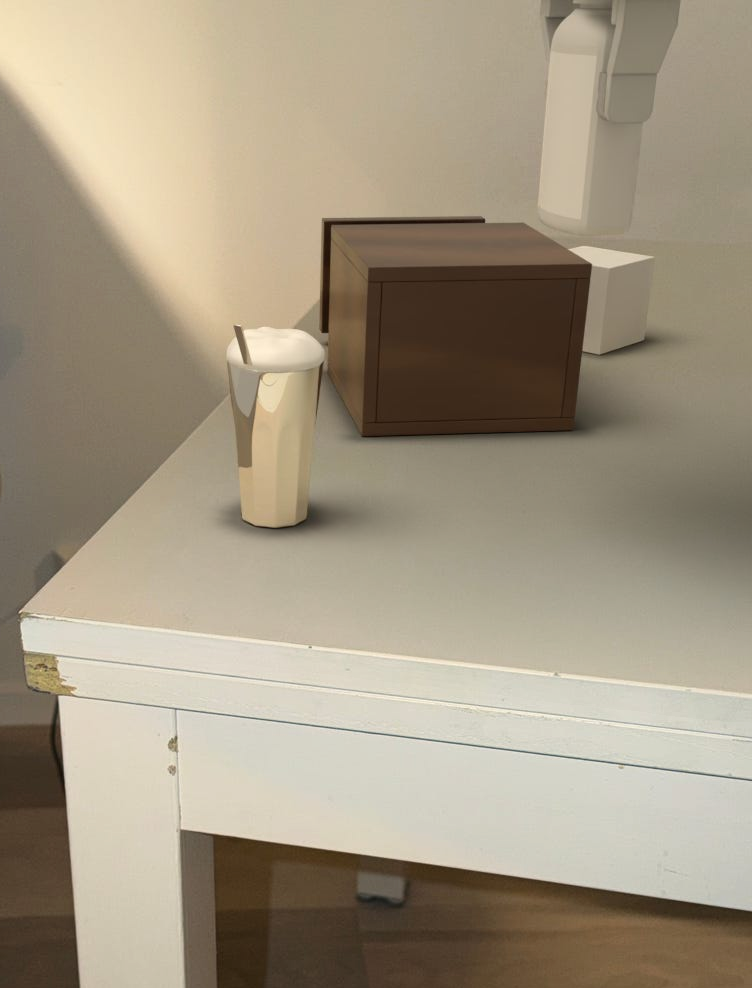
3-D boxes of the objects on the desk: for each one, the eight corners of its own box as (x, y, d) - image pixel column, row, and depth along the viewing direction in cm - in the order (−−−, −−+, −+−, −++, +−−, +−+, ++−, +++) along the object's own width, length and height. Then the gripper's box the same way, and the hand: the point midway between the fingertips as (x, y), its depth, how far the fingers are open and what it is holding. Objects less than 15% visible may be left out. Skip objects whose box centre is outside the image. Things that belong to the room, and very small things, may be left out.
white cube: (599, 355, 92) (609, 268, 89) (528, 340, 96) (536, 256, 93) (644, 340, 96) (655, 256, 93) (574, 326, 100) (583, 245, 97)
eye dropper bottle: (520, 234, 55) (545, -93, 49) (541, 213, 60) (566, -88, 54) (626, 240, 54) (664, -95, 48) (640, 217, 58) (675, -91, 53)
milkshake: (199, 525, 63) (195, 318, 59) (261, 493, 67) (262, 296, 63) (277, 546, 61) (279, 332, 56) (337, 511, 65) (343, 309, 60)
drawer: (309, 313, 99) (311, 206, 95) (457, 310, 100) (464, 204, 97) (346, 376, 83) (350, 251, 80) (520, 372, 85) (532, 248, 81)
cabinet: (327, 373, 88) (331, 224, 83) (510, 368, 89) (524, 222, 84) (361, 436, 75) (368, 267, 71) (573, 430, 77) (592, 263, 72)
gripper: (479, -250, 57) (460, 93, 63) (650, -349, 39) (600, 144, 45) (619, -249, 58) (587, 90, 64) (851, -347, 40) (775, 140, 46)
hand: (594, 113), depth 54 cm, fingers closed on eye dropper bottle, 5 cm apart
